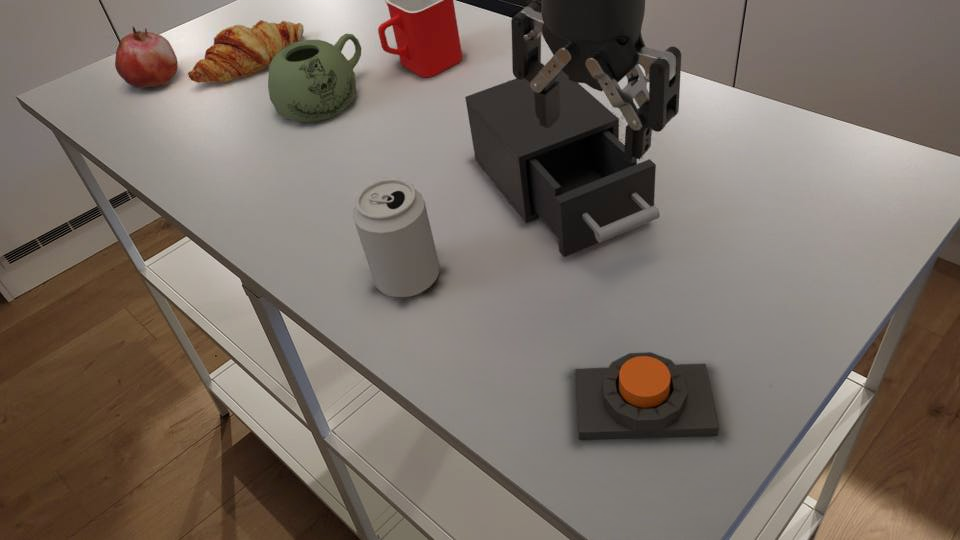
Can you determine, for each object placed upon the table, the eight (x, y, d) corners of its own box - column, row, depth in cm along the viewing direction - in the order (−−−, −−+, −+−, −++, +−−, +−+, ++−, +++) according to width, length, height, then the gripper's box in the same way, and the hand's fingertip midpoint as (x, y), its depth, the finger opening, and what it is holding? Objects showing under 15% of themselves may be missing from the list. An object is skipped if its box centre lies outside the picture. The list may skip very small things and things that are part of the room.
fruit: (119, 85, 126) (90, 29, 119) (171, 61, 129) (145, 5, 122) (140, 104, 120) (111, 46, 113) (194, 78, 124) (168, 21, 117)
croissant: (301, 49, 133) (278, 6, 131) (323, 38, 125) (299, -8, 122) (195, 102, 124) (168, 56, 121) (211, 94, 116) (182, 45, 113)
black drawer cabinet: (619, 185, 91) (619, 118, 84) (525, 223, 88) (518, 157, 82) (560, 127, 101) (556, 63, 94) (475, 160, 98) (464, 96, 92)
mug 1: (307, 139, 107) (288, 85, 101) (259, 109, 114) (239, 57, 108) (393, 88, 114) (381, 35, 108) (343, 63, 121) (329, 12, 115)
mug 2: (436, 42, 122) (424, -22, 115) (468, 58, 117) (458, -8, 110) (376, 74, 117) (359, 9, 110) (406, 92, 112) (391, 25, 105)
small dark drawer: (675, 241, 82) (679, 185, 76) (583, 281, 79) (581, 226, 74) (592, 159, 94) (590, 105, 88) (509, 191, 92) (503, 138, 86)
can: (435, 302, 81) (414, 219, 73) (368, 302, 83) (340, 220, 74) (445, 254, 86) (427, 170, 78) (382, 254, 88) (357, 173, 79)
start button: (666, 366, 68) (667, 354, 67) (672, 407, 65) (673, 395, 64) (617, 368, 69) (617, 356, 68) (621, 409, 66) (621, 397, 65)
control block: (704, 369, 71) (707, 349, 69) (718, 437, 66) (721, 417, 64) (575, 374, 72) (574, 355, 70) (579, 441, 67) (577, 422, 65)
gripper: (480, -43, 54) (499, 135, 66) (656, 8, 48) (641, 196, 60) (541, -86, 58) (548, 90, 70) (713, -44, 51) (688, 143, 63)
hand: (591, 139), depth 65 cm, fingers open, 8 cm apart
